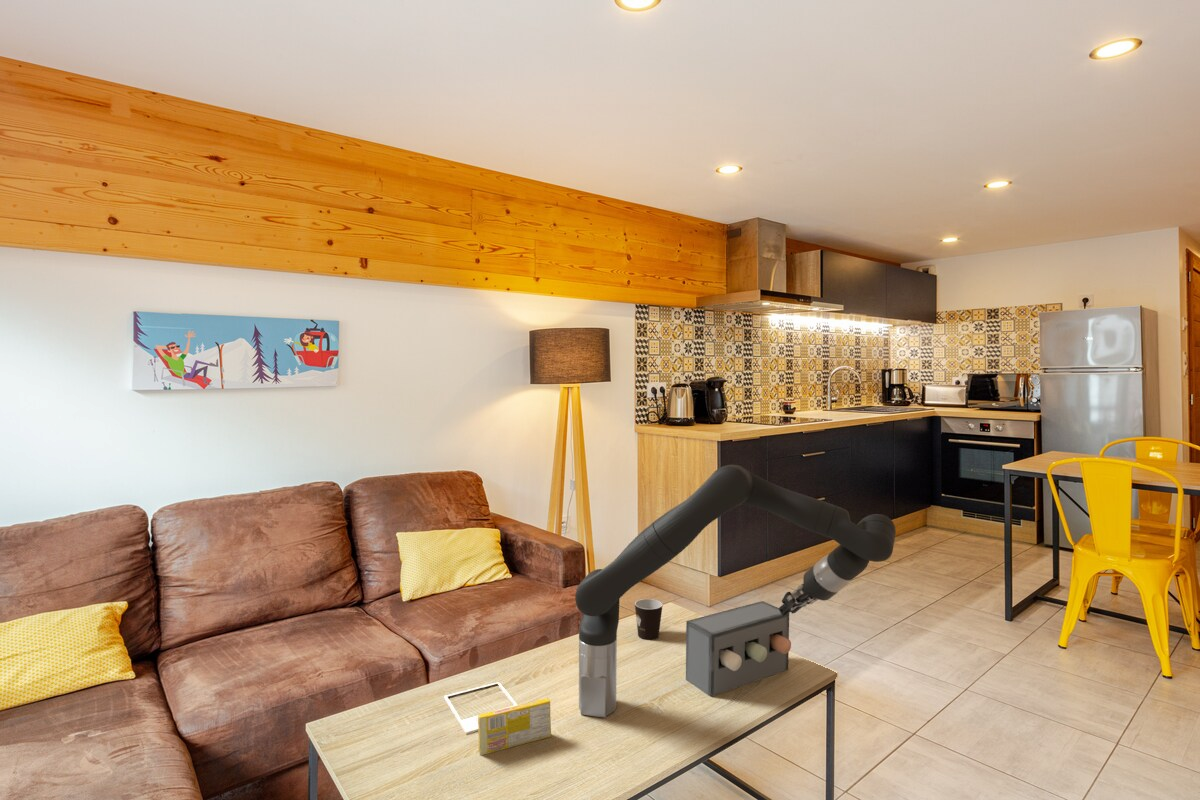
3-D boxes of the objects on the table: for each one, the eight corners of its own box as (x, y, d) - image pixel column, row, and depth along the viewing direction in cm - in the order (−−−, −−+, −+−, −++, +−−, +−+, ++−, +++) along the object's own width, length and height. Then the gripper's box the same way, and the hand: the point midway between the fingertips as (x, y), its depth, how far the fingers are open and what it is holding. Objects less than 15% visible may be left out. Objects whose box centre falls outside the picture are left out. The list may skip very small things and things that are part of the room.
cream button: (741, 668, 158) (741, 653, 158) (729, 672, 156) (729, 657, 156) (722, 657, 164) (722, 642, 164) (711, 661, 162) (711, 646, 162)
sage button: (766, 660, 163) (767, 645, 163) (755, 663, 161) (756, 648, 161) (747, 649, 169) (747, 635, 169) (736, 653, 167) (736, 638, 167)
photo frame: (465, 731, 141) (443, 695, 157) (466, 736, 142) (443, 699, 157) (525, 714, 149) (498, 681, 164) (525, 718, 149) (498, 685, 164)
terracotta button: (791, 652, 168) (791, 637, 167) (780, 655, 166) (780, 640, 165) (771, 642, 174) (771, 628, 173) (761, 645, 172) (761, 631, 171)
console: (788, 669, 172) (789, 612, 172) (710, 696, 158) (711, 634, 157) (761, 655, 181) (762, 601, 180) (685, 679, 167) (686, 621, 166)
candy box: (548, 732, 143) (548, 697, 142) (551, 737, 141) (551, 701, 140) (477, 750, 136) (477, 713, 135) (480, 756, 134) (480, 718, 133)
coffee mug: (663, 641, 190) (663, 609, 189) (635, 641, 190) (635, 609, 189) (660, 625, 201) (660, 595, 201) (633, 625, 202) (633, 595, 201)
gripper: (839, 556, 147) (797, 591, 158) (798, 566, 140) (757, 602, 151) (858, 585, 143) (814, 619, 154) (817, 597, 136) (773, 631, 147)
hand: (786, 610), depth 152 cm, fingers closed
